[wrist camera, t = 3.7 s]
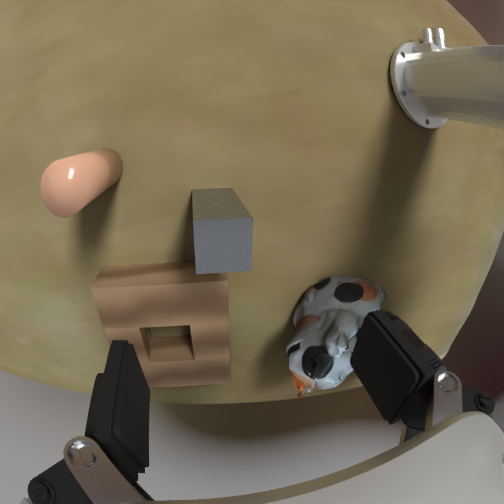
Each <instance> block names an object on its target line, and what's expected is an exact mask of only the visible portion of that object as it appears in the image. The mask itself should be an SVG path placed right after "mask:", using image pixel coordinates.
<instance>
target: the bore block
mask: <svg viewBox="0 0 504 504" xmlns="http://www.w3.org/2000/svg"><path fill="white" fill-rule="evenodd" d="M91 289H92V293H93V296H94V300H95V303H96V306H97V309H98V312H99V315H100V318H101V321H102V324H103V327H104V330H105V332H106V335H107V338H108V340H109V343H110V346H111V342H112V340H127V341H128V343H129V344H133V345H134V348H135V351H136V354H137V357H138V360H139V362H140V365H141V368H142V370H143V373H144V376H145V378H146V381H147V383H148V386H149V388H159V387H183V386H198V385H210V384H221V383H230V382H231V374H230V346H229V308H228V279H227V275H226V272H223V273H209V274H196V264H195V262H181V263H165V264H149V265H133V266H117V267H102V269H101V271H100V272H99V274H98V276H97V278H96V280H95V282H94V284H93V286H92V288H91ZM183 325H190V330H191V336H177V337H158V338H152V337H151V333H150V329H149V327H166V326H183Z"/></svg>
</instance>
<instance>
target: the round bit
mask: <svg viewBox="0 0 504 504" xmlns="http://www.w3.org/2000/svg"><path fill="white" fill-rule="evenodd" d="M122 170H123V164H122V160H121V158H120V156H119V154H118V153H117V152H115V151H114V150H112V149H108V148H104V149H99V150H95V151H91V152H86V153H82V154H78V155H75V156H71V157H67V158H64V159H60V160H57V161H55V162H53V163H51V164H50V165H49V166H48V167H47V168H46V170H45V171H44V173H43V175H42V178H41V183H40V193H41V198H42V201H43V203H44V205H45V206H46V208H47V209H48V210H49V211H50V212H51V213H53V214H54V215H56V216H59V217H69V216H72V215H74V214H76V213H77V212H78V211H80V210H81V209H82V208H83V207H84V206H86V205H87V204H88V203H90V202H91V201H92V200H93V199H95V198H96V197H97V196H99V195H100V194H101V193H103V192H104V191H105V190H107V189H108V188H109V187H111V186H112V185H113V184H115V183H116V182H117V181H118V180H119V178H120V176H121V174H122Z"/></svg>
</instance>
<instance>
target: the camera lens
mask: <svg viewBox="0 0 504 504" xmlns="http://www.w3.org/2000/svg"><path fill="white" fill-rule="evenodd" d="M384 313H385V314H386V315H387V316H388V317H389V318H390V319H391V321H392V322H393V323H394V324H395V325H396V326H397V327H398V328H399V329H400V331H401V332H402V333H403V334H404V335H405V336H406V337H407V338H408V340H409V341H410V342H411V343H412V344H413V345H414V346H415V348H416V349H417V350H418V351H419V352H420V353H421V355H422V356H423V357H424V358H425V359H426V360H427V362H428V363H429V364H430V365H431V366H432V368H433V369H434V370H435V372H434V375H435V376H436V374H437V373H439V372H440V371H445V370H446V367H445V366H444V364H443V363H442V361H441V359H440V358H439V357H438V356H437V355H436V354H435V353H434V351H433V350H432V349H431V348H430V347H429V346H427V345H426V344H424V342H423V341H422V340H421V339H420V338H419V337H418V336H417V335H416V334H415V333H414V332H413V331H412V329H411V328H410V327H409V326H408V325H407V324H406V323H405V322H404V321H403V320H401V319H400V318H399V317H397V316H395V315H393V314H392V313H390V312H384Z"/></svg>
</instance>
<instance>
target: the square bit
mask: <svg viewBox="0 0 504 504" xmlns="http://www.w3.org/2000/svg"><path fill="white" fill-rule="evenodd" d="M192 205H193V231H194V249H195V264H196V274H209V273H223V272H237V271H250V270H251V260H252V230H253V217H252V216H251V215H250V213H249V212H248V210H247V209H246V208H245V206H244V205H243V203H242V202H241V201H240V199H239V198H238V196H237V195H236V193H235V192H234V191H233V189H232V188H220V189H196V190H192Z"/></svg>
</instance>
